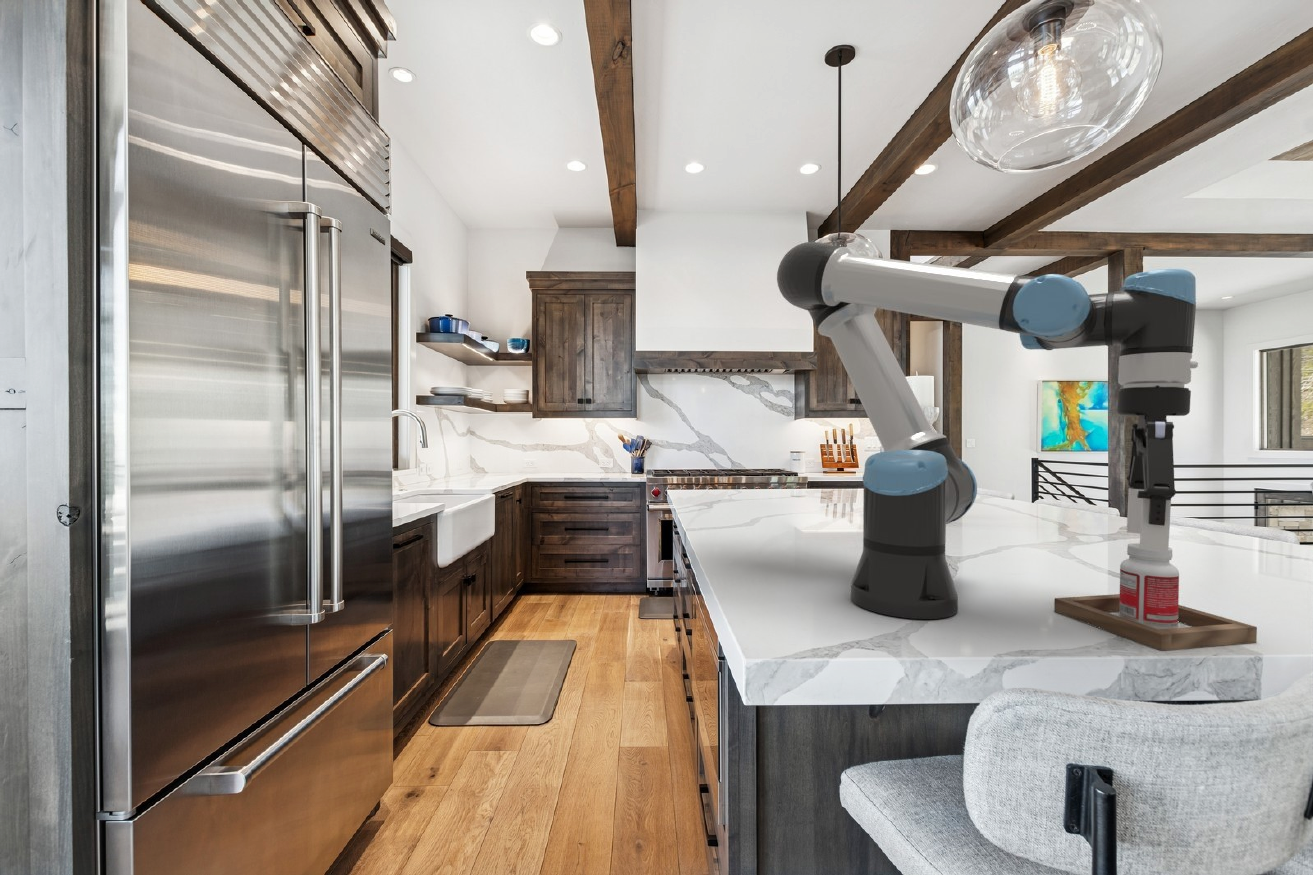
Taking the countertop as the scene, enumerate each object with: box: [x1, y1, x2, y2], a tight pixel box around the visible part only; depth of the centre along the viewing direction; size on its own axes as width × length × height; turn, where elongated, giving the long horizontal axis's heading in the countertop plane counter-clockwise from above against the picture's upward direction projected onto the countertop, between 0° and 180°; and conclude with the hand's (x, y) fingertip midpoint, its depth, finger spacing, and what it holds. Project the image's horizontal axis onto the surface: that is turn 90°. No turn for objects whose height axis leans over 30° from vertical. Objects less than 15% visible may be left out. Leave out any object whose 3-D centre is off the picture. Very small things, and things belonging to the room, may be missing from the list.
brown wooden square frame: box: [1053, 593, 1258, 651], centre depth 79 cm, size 15×15×2 cm
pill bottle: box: [1118, 543, 1180, 630], centre depth 79 cm, size 6×6×11 cm
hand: (1145, 541), depth 79 cm, fingers open, 13 cm apart
